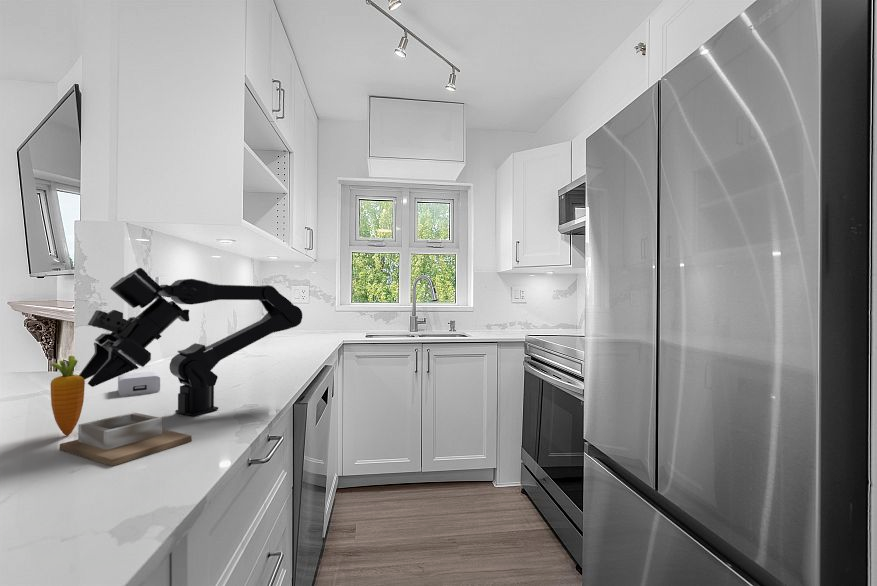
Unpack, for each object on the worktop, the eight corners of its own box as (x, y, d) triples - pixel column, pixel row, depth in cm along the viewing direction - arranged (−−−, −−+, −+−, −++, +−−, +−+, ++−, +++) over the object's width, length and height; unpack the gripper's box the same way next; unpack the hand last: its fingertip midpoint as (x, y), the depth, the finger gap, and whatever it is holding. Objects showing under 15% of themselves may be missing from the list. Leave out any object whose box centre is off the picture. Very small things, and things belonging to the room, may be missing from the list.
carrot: (64, 440, 79) (64, 358, 79) (42, 438, 80) (43, 357, 80) (91, 432, 84) (91, 355, 84) (70, 430, 85) (71, 354, 85)
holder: (139, 428, 86) (140, 408, 86) (191, 441, 79) (191, 419, 79) (59, 449, 74) (60, 426, 74) (112, 466, 67) (112, 440, 67)
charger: (155, 383, 131) (160, 392, 119) (117, 387, 125) (118, 397, 114) (155, 368, 131) (160, 375, 119) (117, 371, 125) (118, 379, 114)
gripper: (107, 296, 94) (38, 351, 86) (132, 296, 82) (54, 360, 73) (149, 330, 100) (88, 385, 91) (177, 335, 88) (110, 399, 79)
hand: (84, 382), depth 84 cm, fingers open, 9 cm apart
